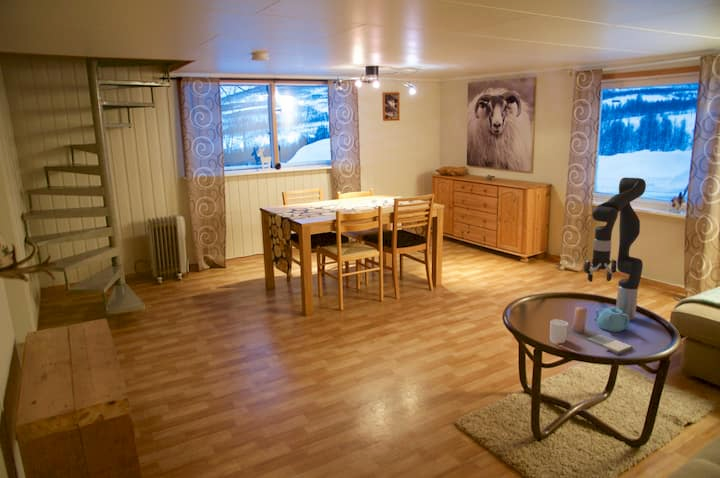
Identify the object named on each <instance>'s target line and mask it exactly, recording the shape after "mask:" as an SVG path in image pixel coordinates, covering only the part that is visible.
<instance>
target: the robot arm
mask: <svg viewBox="0 0 720 478" xmlns="http://www.w3.org/2000/svg"><path fill="white" fill-rule="evenodd" d="M646 183H647V182H646V180H645V179H643V178H640V177H621V179H620V181H619V184H618V193H617V194H615V195H613V196H611V197H610V198H609V199H608V200H607V201H604V202H603V203H601V204H598V205H596V207H594V209H593V210H592V213H591V216H592V219H593V220H594V221H595V222H602V223H606V224H605V225H600V226H596V228H595V229H594V240H593V246H592V259H591V260H588V259H586V260H585V262H584V268H583V269H584V271H583V272H584V273H586V274H587V280H588V282H590V283H593V276H594V275H593V274H594V273H595V272H596V271H597V270H598V271H599V270H606V271H607V272H606V280H605V281H607V282H610V281H611V280H612V275H613V273H617V270H618V272H619V273H622V274H627V275H629V276H628V278H622V279H619V281H618V287H617V296H616V303H615V304H616V305H615V308H616V309H617V308H621V310H622V311H623V313H624V314H627V315H628V316H629V317H630V320H629V321H633V320H635V318H636V312H637V303H638V300H637V298H638V291H639V286H640V283H641V278H642V272H643V266H644V264H643V260H642V259H640V258H637V257H634V256H633V257H632V256H630V248H631V247H632V245H633V243H634V242H635V241H636V239H638V237H639V235H640V231H641V230H640V229H641V221H640V218H639V216H638V215H637V212H635V211H636V210H634V209H633V207H632V204H631V202H633V201H634V200H637V199H639V198H640V197H641V196H642V195H643V194H644V193H645V192H646V187H647V184H646ZM618 213H619V214H618ZM618 216H619V224H618V225H619V226H618V227H619V230H618V231H619V237H618V238H619V241H618V242H619V245H618V254H617V260H616V259H614V258H612V259H611V251H612V250H611V249H612V232H613V229H614V226H615V223H616V221H617V219H618ZM609 265H611V266H610V267H609ZM625 319H626V321H627V319H628V318H627V317H626V316H625Z"/></svg>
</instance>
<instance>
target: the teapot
mask: <svg viewBox="0 0 720 478" xmlns="http://www.w3.org/2000/svg"><path fill="white" fill-rule="evenodd" d="M599 311H601V312H600V313H599ZM625 316H626V317H627V318H628V319H627V320H626V319H625ZM593 320H594V321H595V322H596V324H597V325H598V327H599V328H600V330H601V329H602V330H605V331H608V332H613V333H621V332H622V331H623V330H625V329H626V330H628V329H630V328H631V325H629V322H630V321H631V320H630V317H629V316H628V315H627V314H624V313H623V311H622V310H621V308H617V309H616V306H610V307H605V308H597V309H596V310H595V317H594V319H593Z"/></svg>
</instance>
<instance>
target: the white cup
mask: <svg viewBox="0 0 720 478" xmlns="http://www.w3.org/2000/svg"><path fill="white" fill-rule="evenodd" d="M549 323H550V325H549V342H550V343H551V342H552V343H551V344H553V343H554V345H556V344H563V343H565V342H566V339H567V334H568V333H567V330H569V322H567V321H566V320H563V319H558V318H555V319H551V320H550V321H549Z"/></svg>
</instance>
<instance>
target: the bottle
mask: <svg viewBox="0 0 720 478" xmlns="http://www.w3.org/2000/svg"><path fill="white" fill-rule="evenodd" d="M587 309H588V308H587V307H584V306H575V308H574V318H573V327H572V329H573V332H575V333H579V334H583V333H584V332H585V329H586V320H587V312H588V311H587Z"/></svg>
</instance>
